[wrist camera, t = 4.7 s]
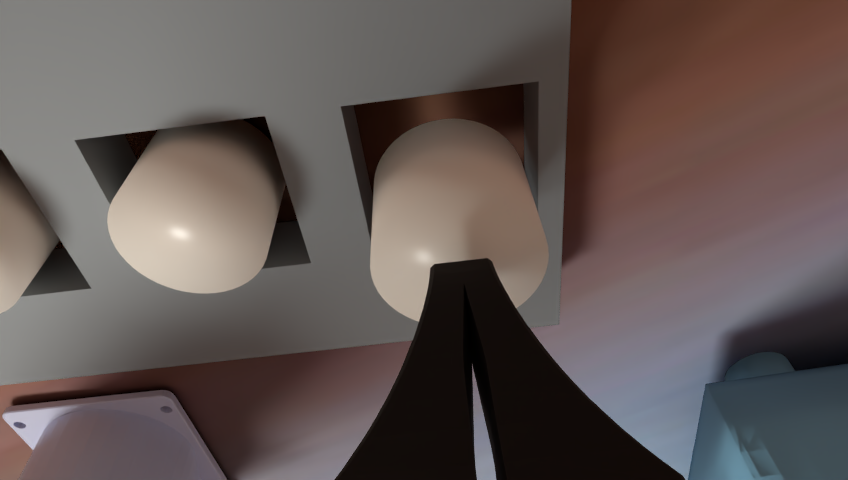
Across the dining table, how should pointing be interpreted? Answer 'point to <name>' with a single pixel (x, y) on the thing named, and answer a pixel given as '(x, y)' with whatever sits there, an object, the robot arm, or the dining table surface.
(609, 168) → the dining table surface
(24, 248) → the far knob
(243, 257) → the middle knob
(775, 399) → the teakettle
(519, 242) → the near knob
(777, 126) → the dining table surface
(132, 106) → the console
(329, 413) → the dining table surface
